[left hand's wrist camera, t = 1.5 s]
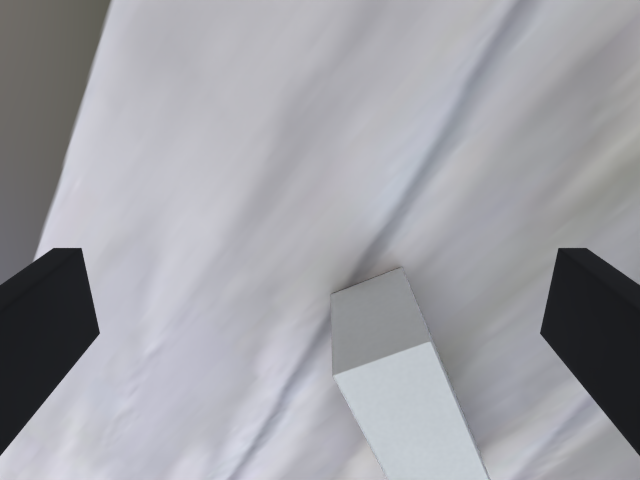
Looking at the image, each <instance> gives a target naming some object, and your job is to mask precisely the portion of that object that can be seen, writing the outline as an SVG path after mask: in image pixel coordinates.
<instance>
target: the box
mask: <svg viewBox="0 0 640 480" xmlns="http://www.w3.org/2000/svg"><path fill="white" fill-rule="evenodd" d="M330 297H331V334H332V372H333V378H334V380H335V381H336V383H337V385H338V387H339V389H340V391H341V393H342V395H343V396H344V398H345V400H346V402H347V404H348V406H349V408H350V410H351V411H352V413H353V415H354V417H355V419H356V421H357V423H358V425H359V426H360V428H361V430H362V432H363V434H364V436H365V438H366V440H367V441H368V443H369V445H370V447H371V449H372V451H373V453H374V455H375V456H376V458H377V460H378V462H379V464H380V466H381V468H382V470H383V471H384V473H385V475H386V477H387V479H388V480H490V477H489V475H488V472H487V470H486V467H485V465H484V462H483V460H482V457H481V455H480V452H479V450H478V448H477V445H476V443H475V440H474V438H473V436H472V433H471V431H470V428H469V426H468V424H467V421H466V419H465V416H464V414H463V412H462V409H461V407H460V404H459V402H458V400H457V397H456V395H455V392H454V390H453V387H452V385H451V383H450V380H449V378H448V375H447V373H446V371H445V368H444V366H443V363H442V361H441V359H440V356H439V354H438V351H437V349H436V347H435V344H434V342H433V339H432V337H431V335H430V332H429V330H428V327H427V325H426V323H425V320H424V318H423V315H422V313H421V311H420V308H419V306H418V303H417V301H416V299H415V296H414V294H413V291H412V289H411V286H410V284H409V282H408V279H407V277H406V274H405V272H404V270H403V267H400V268H398V269H395V270H393V271H390V272H387V273H385V274H382V275H380V276H377V277H374V278H372V279H369V280H367V281H364V282H362V283H359V284H356V285H354V286H351V287H349V288H346V289H343V290H341V291H338V292H336V293H333V294H331V295H330Z"/></svg>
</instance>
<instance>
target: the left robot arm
mask: <svg viewBox="0 0 640 480" xmlns="http://www.w3.org/2000/svg"><path fill="white" fill-rule="evenodd" d="M99 334H100V332H99V327H98V322H97V318H96V313H95V308H94V304H93V299H92V295H91V290H90V285H89V281H88V276H87V271H86V267H85V262H84V258H83V253H82V248H53V249H52V250H50V251H49V252H47V253H46V254H44V255H43V256H42V257H40V258H39V259H37V260H36V261H34V262H33V263H32V264H30V265H29V266H27V267H26V268H24V269H23V270H22V271H20V272H19V273H17V274H16V275H14V276H13V277H11V278H10V279H9V280H7V281H6V282H4V283H3V284H1V285H0V456H1V454H2V453H3V452H4V451H5V449H6V448H7V447H8V446H9V445H10V443H11V442H12V441H13V440H14V438H15V437H16V436H17V435H18V433H19V432H20V431H21V430H22V429H23V427H24V426H25V425H26V424H27V422H28V421H29V420H30V419H31V417H32V416H33V415H34V414H35V413H36V411H37V410H38V409H39V408H40V406H41V405H42V404H43V403H44V401H45V400H46V399H47V398H48V397H49V395H50V394H51V393H52V392H53V390H54V389H55V388H56V387H57V385H58V384H59V383H60V382H61V381H62V379H63V378H64V377H65V376H66V374H67V373H68V372H69V371H70V370H71V368H72V367H73V366H74V365H75V363H76V362H77V361H78V360H79V358H80V357H81V356H82V355H83V354H84V352H85V351H86V350H87V349H88V347H89V346H90V345H91V344H92V342H93V341H94V340H95V339H96V338H97V336H98V335H99ZM540 334H541V335H542V336H543V338H544V339H545V340H546V341H547V342H548V344H549V345H550V346H551V347H552V349H553V350H554V351H555V352H556V354H557V355H558V356H559V357H560V358H561V360H562V361H563V362H564V363H565V365H566V366H567V367H568V368H569V370H570V371H571V372H572V373H573V374H574V376H575V377H576V378H577V379H578V381H579V382H580V383H581V384H582V386H583V387H584V388H585V389H586V390H587V392H588V393H589V394H590V395H591V397H592V398H593V399H594V400H595V401H596V403H597V404H598V405H599V406H600V408H601V409H602V410H603V411H604V413H605V414H606V415H607V416H608V417H609V419H610V420H611V421H612V422H613V424H614V425H615V426H616V427H617V429H618V430H619V431H620V432H621V433H622V435H623V436H624V437H625V438H626V440H627V441H628V442H629V443H630V445H631V446H632V447H633V448H634V449H635V451H636V452H637V453H638V454H639V456H640V285H639V284H637V283H636V282H634V281H633V280H631V279H630V278H629V277H627V276H626V275H624V274H623V273H621V272H620V271H619V270H617V269H616V268H614V267H613V266H611V265H610V264H608V263H607V262H606V261H604V260H603V259H601V258H600V257H598V256H597V255H596V254H594V253H593V252H591V251H590V250H588V249H587V248H558V253H557V258H556V262H555V267H554V271H553V276H552V281H551V285H550V290H549V295H548V299H547V304H546V308H545V313H544V318H543V322H542V327H541V332H540Z"/></svg>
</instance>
